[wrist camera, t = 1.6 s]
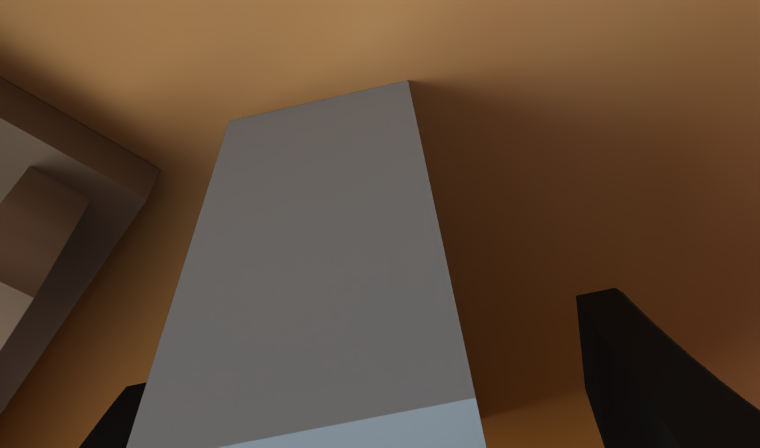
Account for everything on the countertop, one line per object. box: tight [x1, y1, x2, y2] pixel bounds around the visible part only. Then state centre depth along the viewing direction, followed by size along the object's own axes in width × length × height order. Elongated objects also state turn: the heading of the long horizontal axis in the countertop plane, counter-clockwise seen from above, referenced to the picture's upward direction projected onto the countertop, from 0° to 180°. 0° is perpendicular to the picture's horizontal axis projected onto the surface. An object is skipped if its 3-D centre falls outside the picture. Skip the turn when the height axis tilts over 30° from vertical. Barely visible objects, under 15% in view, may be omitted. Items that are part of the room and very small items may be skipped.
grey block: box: [126, 80, 487, 448], centre depth 11 cm, size 8×3×7 cm, turn 13°
